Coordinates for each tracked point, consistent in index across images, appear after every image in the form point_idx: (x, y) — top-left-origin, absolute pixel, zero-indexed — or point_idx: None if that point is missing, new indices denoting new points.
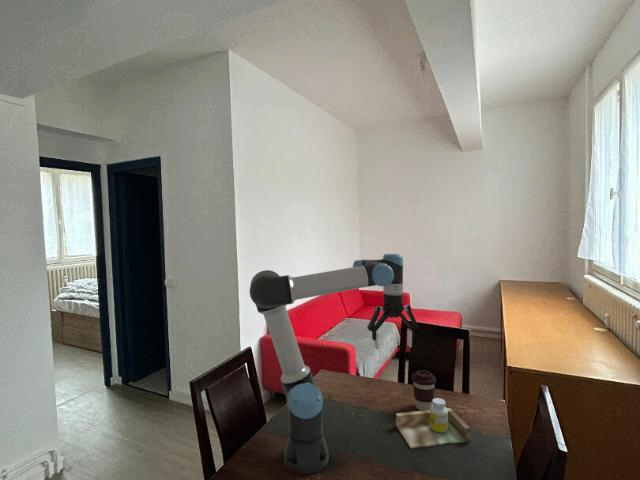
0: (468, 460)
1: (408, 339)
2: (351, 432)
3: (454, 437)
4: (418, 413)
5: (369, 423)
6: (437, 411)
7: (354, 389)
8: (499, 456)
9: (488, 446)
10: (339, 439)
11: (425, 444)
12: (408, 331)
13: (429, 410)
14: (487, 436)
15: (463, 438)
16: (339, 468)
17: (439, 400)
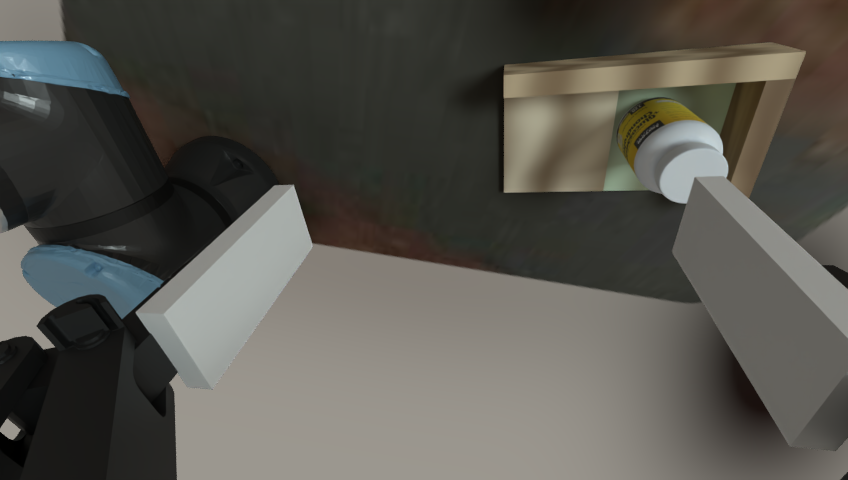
0: (638, 254)
1: (724, 262)
2: (337, 89)
3: None
4: (604, 87)
5: (405, 35)
6: (651, 188)
7: None
8: None
9: None
10: (302, 122)
11: (554, 189)
12: (803, 366)
13: (674, 65)
14: (814, 170)
15: None
16: (311, 228)
17: (700, 172)
